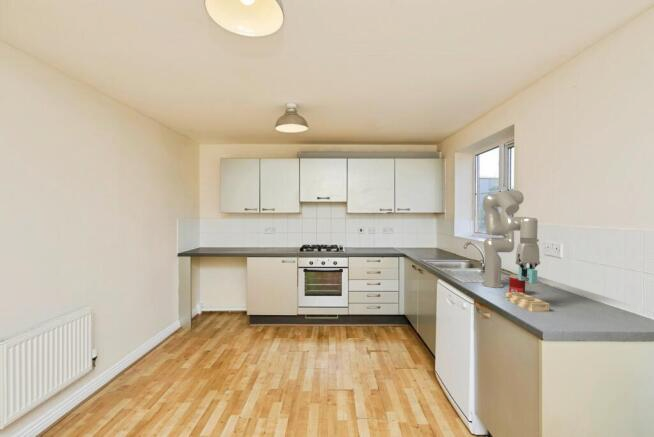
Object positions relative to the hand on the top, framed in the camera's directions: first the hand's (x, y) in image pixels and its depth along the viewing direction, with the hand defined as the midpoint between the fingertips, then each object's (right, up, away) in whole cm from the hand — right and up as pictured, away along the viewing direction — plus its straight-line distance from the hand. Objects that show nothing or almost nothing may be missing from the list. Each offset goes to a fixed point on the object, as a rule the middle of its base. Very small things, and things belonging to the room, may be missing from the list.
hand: (527, 276), depth 164 cm
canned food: (+7, -15, +22) cm, 27 cm away
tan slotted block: (0, -16, +1) cm, 16 cm away
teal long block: (0, -3, 0) cm, 3 cm away
